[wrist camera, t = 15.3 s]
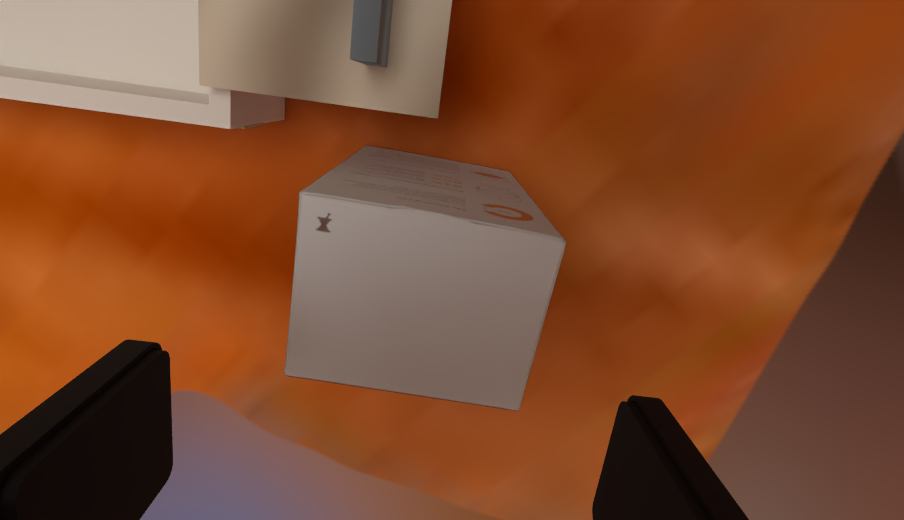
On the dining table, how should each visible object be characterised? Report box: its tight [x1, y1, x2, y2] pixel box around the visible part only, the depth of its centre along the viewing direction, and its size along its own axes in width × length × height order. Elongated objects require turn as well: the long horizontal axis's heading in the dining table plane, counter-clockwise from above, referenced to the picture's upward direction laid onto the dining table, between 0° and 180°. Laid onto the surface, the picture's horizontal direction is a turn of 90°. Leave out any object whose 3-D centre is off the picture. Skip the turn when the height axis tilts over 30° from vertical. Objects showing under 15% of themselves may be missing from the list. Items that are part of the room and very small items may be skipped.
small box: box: [284, 146, 566, 411], centre depth 22 cm, size 8×6×13 cm
